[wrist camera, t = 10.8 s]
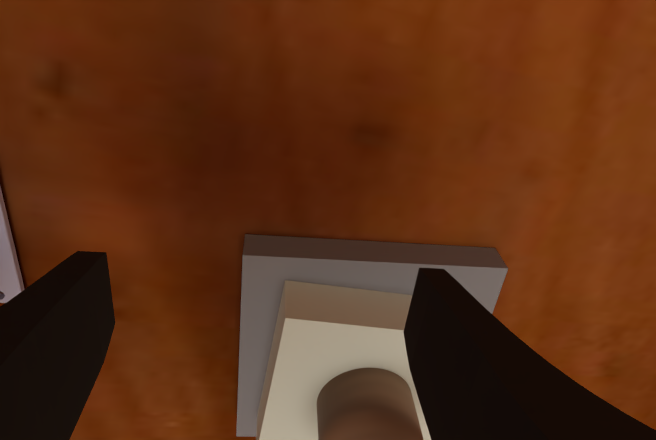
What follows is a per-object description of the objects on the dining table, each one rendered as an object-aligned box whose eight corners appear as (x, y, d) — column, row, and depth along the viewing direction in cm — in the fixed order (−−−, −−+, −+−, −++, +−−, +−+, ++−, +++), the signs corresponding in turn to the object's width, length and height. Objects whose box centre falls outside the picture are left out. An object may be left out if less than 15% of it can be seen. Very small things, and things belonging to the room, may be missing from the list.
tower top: (257, 414, 27) (255, 457, 25) (285, 280, 23) (285, 317, 21) (417, 426, 29) (428, 467, 26) (472, 302, 24) (491, 339, 22)
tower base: (239, 399, 30) (236, 436, 28) (246, 225, 24) (242, 255, 22) (436, 402, 31) (447, 438, 29) (489, 238, 25) (508, 268, 23)
